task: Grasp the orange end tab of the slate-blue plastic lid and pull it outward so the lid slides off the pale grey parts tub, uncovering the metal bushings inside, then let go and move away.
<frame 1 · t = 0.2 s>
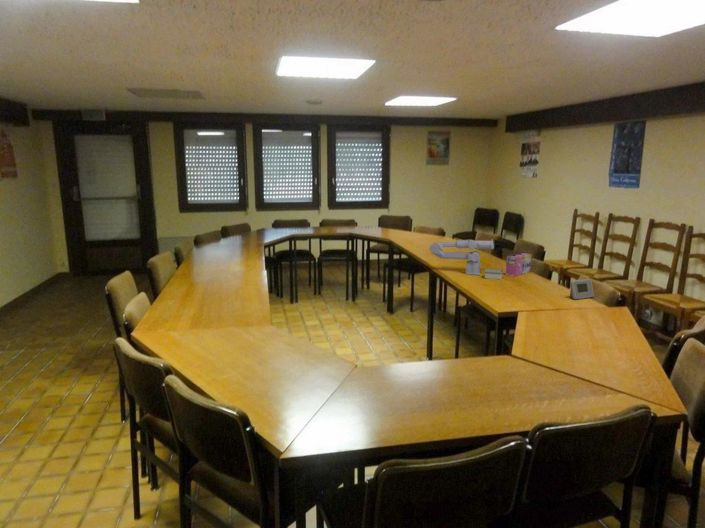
hand: (505, 245, 326), 21 cm above the table, tool horizontal, fingers open, 7 cm apart
tub: (493, 278, 324), on the table
digital clock: (580, 298, 278), on the table
lid: (495, 269, 323), point 6 cm above the table, slide at 0.0 cm
gum box: (518, 273, 340), on the table
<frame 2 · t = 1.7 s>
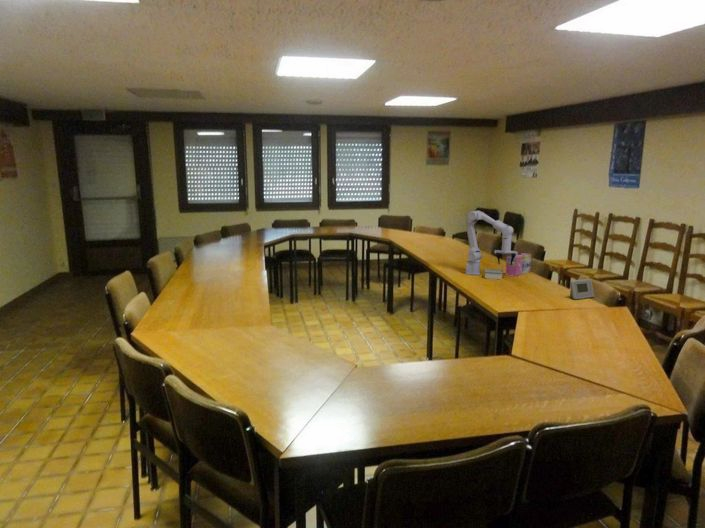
hand: (504, 264, 320), 10 cm above the table, tool pointing down, fingers open, 7 cm apart
nothing on the table moved.
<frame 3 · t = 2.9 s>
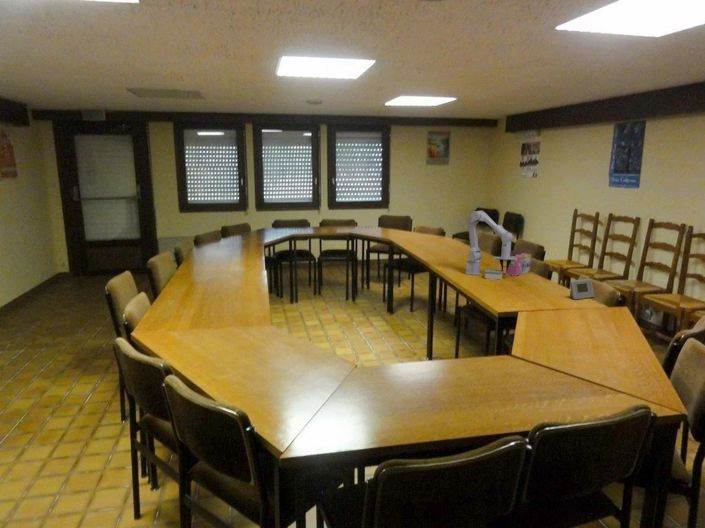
hand: (504, 270, 321), 5 cm above the table, tool pointing down, fingers closed on lid, 2 cm apart
lid: (495, 269, 323), point 6 cm above the table, slide at 0.0 cm, touching gripper
everything else where it was.
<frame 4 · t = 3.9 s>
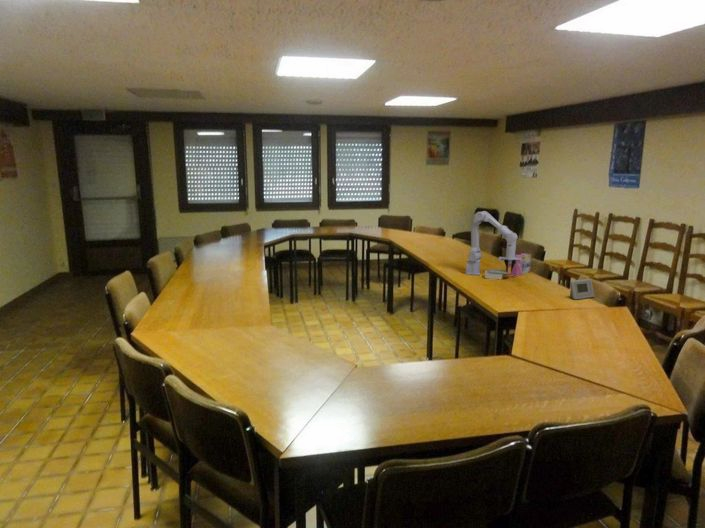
hand: (509, 271, 321), 5 cm above the table, tool pointing down, fingers closed on lid, 2 cm apart
lid: (500, 269, 322), point 6 cm above the table, slide at 3.0 cm, touching gripper
everything else where it was.
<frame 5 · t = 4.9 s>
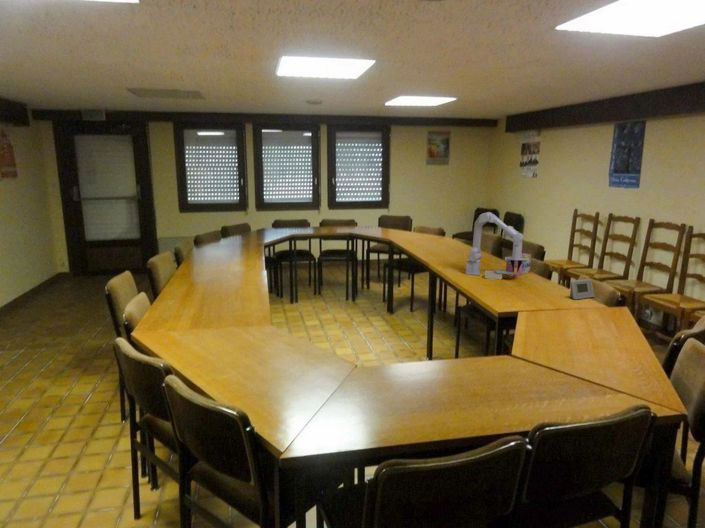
hand: (515, 271, 319), 5 cm above the table, tool pointing down, fingers closed on lid, 2 cm apart
lid: (506, 269, 321), point 6 cm above the table, slide at 7.0 cm, touching gripper
everything else where it was.
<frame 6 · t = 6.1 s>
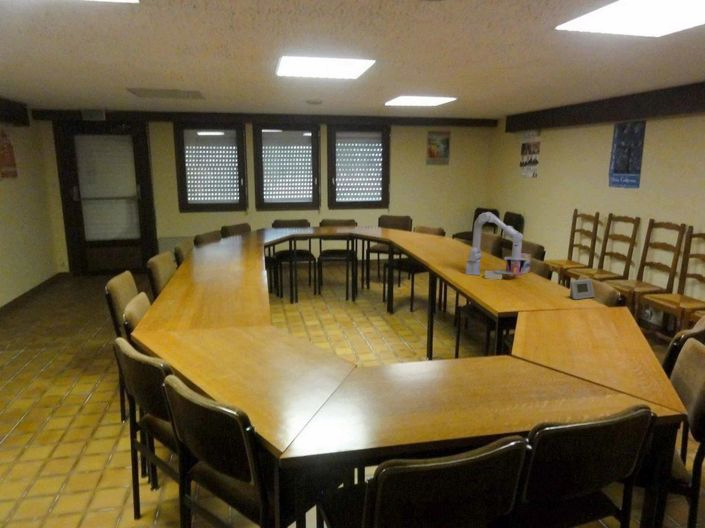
hand: (514, 271, 320), 6 cm above the table, tool pointing down, fingers open, 6 cm apart
lid: (505, 269, 321), point 6 cm above the table, slide at 6.7 cm
everything else where it was.
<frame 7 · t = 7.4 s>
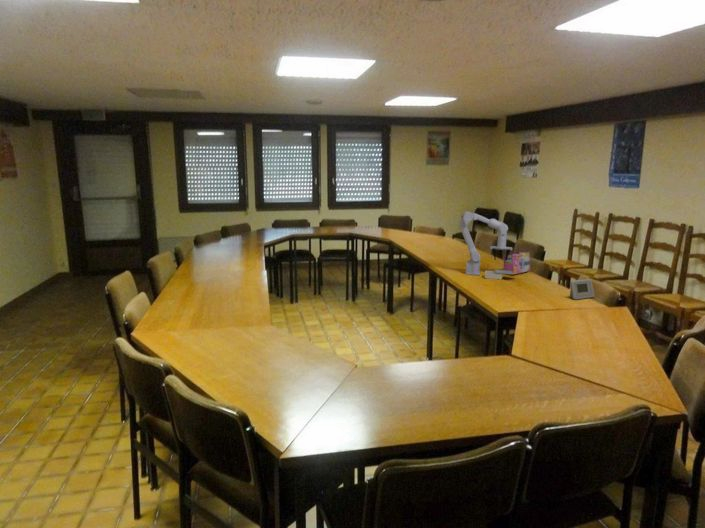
hand: (500, 260, 332), 10 cm above the table, tool pointing down, fingers open, 7 cm apart
gum box: (517, 272, 341), on the table, touching gripper
everything else where it was.
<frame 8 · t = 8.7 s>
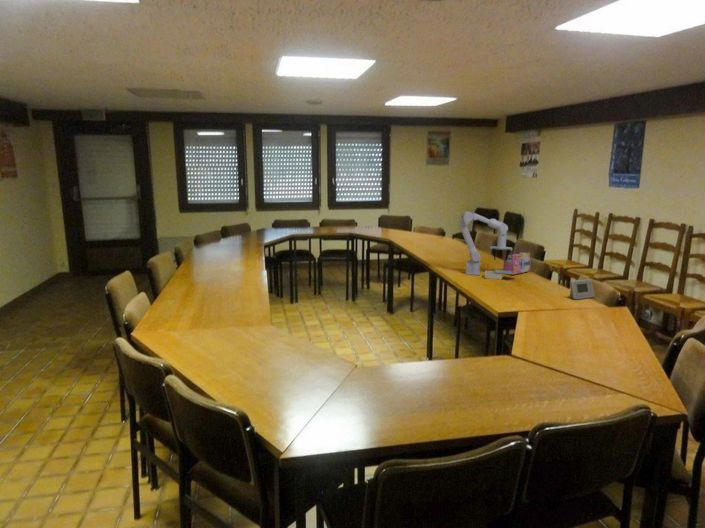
hand: (500, 260, 332), 10 cm above the table, tool pointing down, fingers open, 7 cm apart
nothing on the table moved.
at the end: lid slide at 6.7 cm; the gripper is holding nothing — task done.
